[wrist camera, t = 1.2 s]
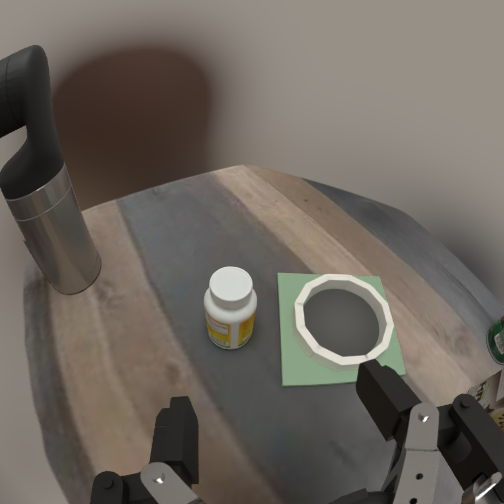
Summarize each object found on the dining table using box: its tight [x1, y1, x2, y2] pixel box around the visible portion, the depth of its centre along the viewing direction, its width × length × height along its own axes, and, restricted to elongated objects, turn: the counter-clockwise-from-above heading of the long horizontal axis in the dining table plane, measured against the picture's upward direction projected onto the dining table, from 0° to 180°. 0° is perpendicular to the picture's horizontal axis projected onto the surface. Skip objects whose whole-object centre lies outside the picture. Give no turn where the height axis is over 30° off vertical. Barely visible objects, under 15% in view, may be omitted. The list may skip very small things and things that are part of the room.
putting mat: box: [277, 273, 406, 387], centre depth 32 cm, size 16×16×3 cm
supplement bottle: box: [204, 267, 257, 349], centre depth 28 cm, size 5×5×10 cm
